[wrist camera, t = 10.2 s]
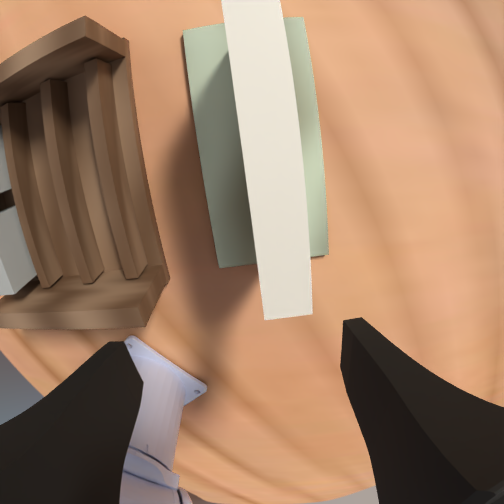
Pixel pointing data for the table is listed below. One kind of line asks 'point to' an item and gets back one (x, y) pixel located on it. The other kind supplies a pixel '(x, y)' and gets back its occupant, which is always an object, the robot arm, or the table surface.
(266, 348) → the table surface
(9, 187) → the offcut
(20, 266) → the offcut
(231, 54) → the cream rectangular slab
